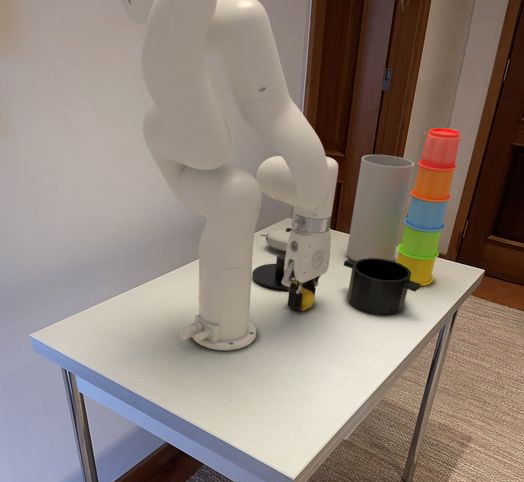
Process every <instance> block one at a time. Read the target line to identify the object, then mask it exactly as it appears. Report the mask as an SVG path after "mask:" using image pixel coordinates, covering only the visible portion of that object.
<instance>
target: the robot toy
mask: <svg viewBox="0 0 524 482" xmlns="http://www.w3.org/2000/svg"><path fill="white" fill-rule="evenodd" d="M291 230H292V227H286V229H285V231H284V230H273V231H270V232H268V233H267V234H262V233H261V234H259V235H260V237H265V241H266V244H267V245H268V246H269V247H271V248H273V249H274V250H277V251H283V252H286V250H287V245H288V240H289V236H290V233H291Z"/></svg>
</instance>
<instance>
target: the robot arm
mask: <svg viewBox="0 0 524 482" xmlns="http://www.w3.org/2000/svg"><path fill="white" fill-rule="evenodd" d="M118 2H119V5H120V6H121V8H122V10H123V11H124V13H125V14H126V15H127V17H128V18H129V19H130V20H131V21H132V22H134V23H135V24H137V25H138V26H140V27H141V28H143V29H145V30H144V34H143V41H142V46H141V57H140V58H141V59H140V60H141V62H140V63H141V72H142V76H143V80H144V83H145V87H146V88H147V91H148V93H149V96H150V98H151V100H152V101H151V102H150V103H149V105H148V106H147V108H146V109H145V112H144V115H143V119H142V132H143V138H144V141H145V144H146V147H147V149H148V151H149V153H150V156H151V157H152V159H153V160H154V162H155V164H156V166H157V168H158V170H159V172H160V174H161V175H162V177H163V179H164V180H165V183H166V185H167V186H168V188H169V190H170V191H171V193H172V195H173V196H174V198H176V200H177V201H178V202H179V203H180V204H181V205H183V206H184V207H186V208H187V209H189V210H191V211H193V212H195V213H197V214H199V215H201V216H203V217H204V218H205V219H206V221H205V222H206V223H205V227H204V228H203V231H202V233H201V234H200V238H199V243H198V314H197V315H194V321H193V322H192V323H191V325H190V326H187V327H185V328H183V329H181V330H179V333H178V335H179V337H180V339H182V340H183V341H186V340H188V339H190V338H192V340H193V341H194V342H195V343H197V344H198V345H200V346H202V347H204V348H207V349H209V350H210V349H211V350H215V351H232V350H233V351H234V350H238V349H242V348H245V347H247V346H249V345H251V344H252V343H253V342H254V341H255V339H256V337H257V327H256V325H255V324H254V323H253V322H252V321H251V320H250V309H251V307H250V306H251V291H252V289H251V288H252V274H253V255H254V254H253V252H254V241H255V235H256V234H255V232H256V229H257V228H256V227H257V223H258V219H259V216H260V212H261V209H262V208H261V207H262V202H263V194H264V195H266V196H267V197H268V198H271V199H273V200H276V201H279V202H281V203H285V204H287V205H290V206H292V207H293V211H292V212H293V213H292V220H291V229H292V230H291V233H290V236H289V240H288V245H287V250H286V251H285V263H284V277H283V279H282V282H281V283H282V284H283V285H285V286H286V287H287V289H286V290H287V291H288V297H287V307H288V308H290V309H293V310H294V311H298V312H299V311H302V310H301V303H302V295H303V293H301V290H302V287H303V288H305V289H307V290H310V291H311V292H312V293H313V294H314V298H315V297H316V296H315V295H316V289H317V288H316V287H317V286H319V279H320V278H321V276H322V275H325V274H326V273H327V272H328V270H329V266H330V256H331V246H332V245H331V244H332V233H331V232H332V231H331V221H332V216H333V215H332V213H333V207H334V200H335V193H336V188H337V181H338V175H339V163H338V161H336V160H335V159H334V158H332V157H329V156H326V152H325V149H324V146H323V143H322V142H321V140H320V138H319V136H318V134H317V133H316V131H315V129H314V128H313V127H312V125H311V124H310V123H309V121H308V119H307V118H306V116H305V115H304V114H303V113H302V111H301V110H300V108H299V107H298V106H297V105H296V103H295V102H294V101H293V98H291V95H290V92H289V88H288V85H287V81H286V77H285V74H284V70H283V66H282V63H281V59H280V56H279V55H280V54H279V51H278V48H277V44H276V40H275V36H274V33H273V29H272V25H271V22H270V18H269V16H268V13H267V11H266V9H265V7H264V5H263V4H262V3H261V2H260V1H259V0H118ZM206 57H207V58H210V59H215V60H216V59H217V60H219V61H220V63H221V66H222V68H223V71H224V74H225V77H226V80H227V82H228V85H229V88H230V91H231V94H232V97H233V100H234V102H235V106H236V108H237V111H238V114H239V116H240V118H241V120H242V121H243V122H244V123H245V125H247V126H248V127H249V128H250V129H251V130H252V131H253V132H254V133H255V134H257V135H258V136H259V137H261V138H262V139H263V140H264V141H266V142H267V143H268V144H269V145H271V147H273V149H275V150H276V151H277V153H278V154H279V155H275V156H271V157H268V158H267V159H265V160H264V161H263V162H262V163H261V164H260V165H259V167H258V169H257V171H256V176H255V177H256V178H255V177H254V176H253V174H251V172H249V171H247V170H246V169H244V168H241V167H240V166H237V165H234V164H231V163H228V160H229V158H230V155H231V153H232V147H233V145H232V143H233V142H232V136H231V132H230V128H229V126H228V122H227V120H226V119H225V116H224V114H223V111H222V109H221V106H220V104H219V101H218V98H217V97H216V94H215V90H214V89H213V87H212V84H211V82H210V78H209V75H208V73H207V70H206V66H205V60H204V58H206ZM294 281H297V282H298V284H297V285H296V284H295V283H294ZM304 282H305V283H304Z"/></svg>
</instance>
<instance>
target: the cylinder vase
mask: <svg viewBox="0 0 524 482" xmlns="http://www.w3.org/2000/svg"><path fill="white" fill-rule="evenodd" d="M414 166H415V163H414V162H413V160H410V159H407V158H404V157H399V156H393V155H386V154H367V155H363V156H362V157H361V161H360V167H359V174H358V180H357V186H356V192H355V198H354V203H353V211H352V217H351V222H350V230H349V234H348V235H349V236H348V242H347V248H346V255H347V257H348V259H352V260H355V261H358V260H360V259H367V258H380V259H386V260H391V261H395V256H396V251H397V247H398V241H399V238H400V232H401V228H402V223H403V219H404V213H405V209H406V204H407V199H408V194H409V190H410V185H411V181H412V176H413V171H414Z"/></svg>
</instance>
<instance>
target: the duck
mask: <svg viewBox="0 0 524 482" xmlns="http://www.w3.org/2000/svg"><path fill="white" fill-rule="evenodd" d="M294 283H295V284H296V285H297V284H298V282H297V281H294ZM301 293H303V295H302V303H301V310H300V311H306V310H308V309H310V308H313V304H314V303H315V297H314V294H313V293H312V292H311V291H310V290H307V289H305V288H303V287H302V290H301Z"/></svg>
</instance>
